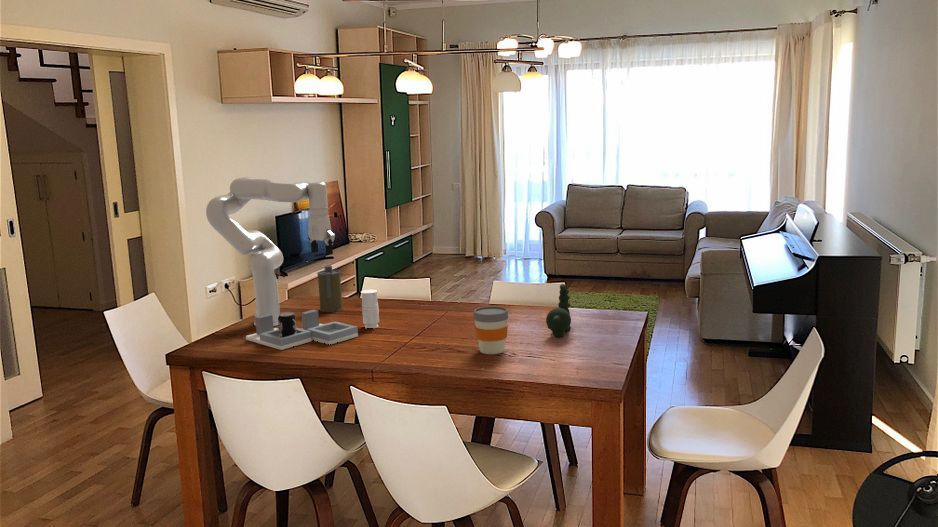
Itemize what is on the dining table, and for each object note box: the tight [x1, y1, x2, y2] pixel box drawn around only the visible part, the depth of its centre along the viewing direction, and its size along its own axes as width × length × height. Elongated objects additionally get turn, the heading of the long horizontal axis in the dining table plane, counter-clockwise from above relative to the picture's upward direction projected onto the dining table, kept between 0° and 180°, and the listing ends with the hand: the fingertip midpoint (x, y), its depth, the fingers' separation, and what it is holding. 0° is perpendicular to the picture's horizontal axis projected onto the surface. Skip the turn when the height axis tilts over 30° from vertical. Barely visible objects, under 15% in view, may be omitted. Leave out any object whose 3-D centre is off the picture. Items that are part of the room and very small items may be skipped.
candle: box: [360, 289, 380, 329], centre depth 316 cm, size 7×7×15 cm
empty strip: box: [301, 309, 359, 346], centre depth 305 cm, size 24×14×8 cm, turn 48°
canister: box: [316, 264, 344, 313], centre depth 347 cm, size 11×10×20 cm
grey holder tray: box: [245, 314, 313, 351], centre depth 301 cm, size 24×14×8 cm, turn 48°
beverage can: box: [277, 311, 297, 338], centre depth 296 cm, size 7×7×12 cm
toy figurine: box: [545, 283, 572, 339], centre depth 296 cm, size 9×19×25 cm
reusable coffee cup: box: [473, 305, 509, 355], centre depth 278 cm, size 13×13×15 cm
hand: (322, 253), depth 318 cm, fingers open, 9 cm apart
